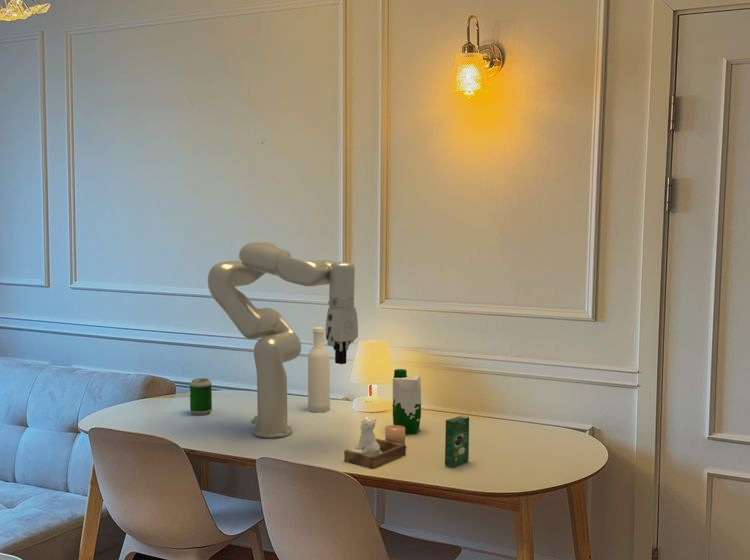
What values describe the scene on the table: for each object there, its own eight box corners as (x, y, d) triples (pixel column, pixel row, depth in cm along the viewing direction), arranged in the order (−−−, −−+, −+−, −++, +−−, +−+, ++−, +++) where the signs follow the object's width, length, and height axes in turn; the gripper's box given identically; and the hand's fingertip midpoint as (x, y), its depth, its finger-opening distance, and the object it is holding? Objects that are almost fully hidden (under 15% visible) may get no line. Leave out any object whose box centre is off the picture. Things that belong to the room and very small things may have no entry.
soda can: (216, 412, 266) (215, 379, 265) (201, 417, 259) (200, 383, 258) (201, 409, 270) (200, 377, 269) (185, 414, 263) (185, 380, 263)
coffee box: (461, 459, 213) (461, 414, 212) (469, 461, 211) (470, 416, 210) (444, 466, 207) (444, 419, 206) (452, 468, 205) (452, 421, 204)
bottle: (304, 408, 271) (304, 326, 269) (325, 406, 274) (324, 325, 272) (312, 413, 264) (311, 329, 262) (333, 411, 267) (332, 328, 265)
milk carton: (395, 426, 247) (395, 367, 245) (422, 428, 245) (422, 368, 244) (390, 434, 238) (390, 372, 237) (418, 435, 237) (418, 373, 235)
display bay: (344, 461, 212) (344, 450, 211) (377, 448, 224) (377, 438, 223) (373, 468, 205) (373, 458, 205) (405, 455, 217) (405, 444, 217)
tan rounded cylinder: (381, 447, 224) (381, 428, 224) (392, 443, 229) (392, 423, 229) (397, 451, 221) (397, 431, 220) (408, 446, 225) (409, 427, 225)
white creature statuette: (357, 450, 222) (356, 410, 221) (384, 452, 220) (384, 412, 219) (346, 459, 213) (346, 418, 212) (375, 462, 211) (375, 420, 210)
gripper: (333, 306, 216) (332, 368, 218) (367, 302, 227) (366, 361, 229) (315, 304, 221) (314, 365, 223) (349, 300, 232) (348, 358, 234)
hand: (340, 363), depth 226 cm, fingers closed
